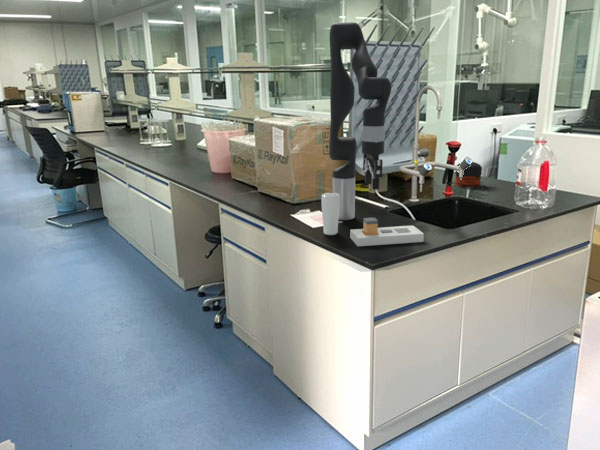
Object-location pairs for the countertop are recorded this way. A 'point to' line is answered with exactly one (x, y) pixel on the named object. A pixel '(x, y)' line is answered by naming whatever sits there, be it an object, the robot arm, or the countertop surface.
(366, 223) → the plug
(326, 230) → the drinking glass
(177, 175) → the countertop surface
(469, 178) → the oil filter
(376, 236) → the pdu strip
